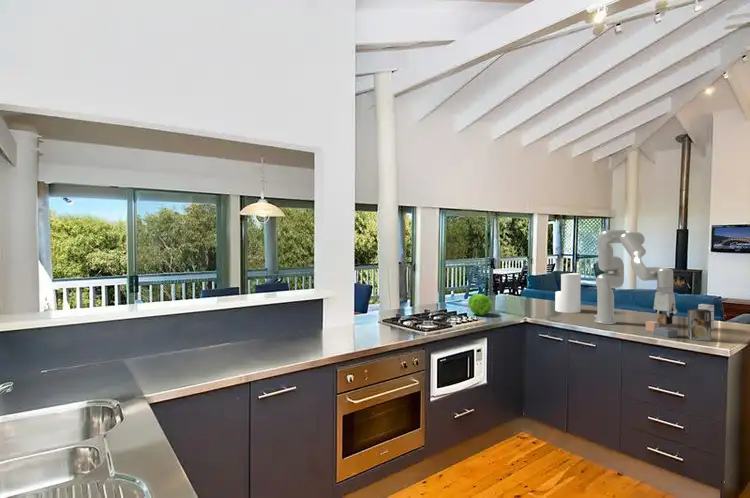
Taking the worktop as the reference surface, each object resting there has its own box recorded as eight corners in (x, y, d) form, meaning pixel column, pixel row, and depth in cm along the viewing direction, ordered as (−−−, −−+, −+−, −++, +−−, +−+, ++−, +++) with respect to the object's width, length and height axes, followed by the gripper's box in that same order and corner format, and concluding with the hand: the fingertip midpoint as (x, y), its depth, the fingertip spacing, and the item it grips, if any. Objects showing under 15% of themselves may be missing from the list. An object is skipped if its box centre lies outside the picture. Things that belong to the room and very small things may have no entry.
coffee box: (707, 338, 240) (707, 309, 240) (711, 341, 234) (711, 311, 234) (687, 337, 243) (687, 308, 243) (690, 339, 237) (691, 310, 237)
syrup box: (714, 329, 264) (714, 304, 264) (706, 329, 263) (707, 305, 262) (704, 327, 270) (705, 303, 269) (697, 327, 268) (697, 303, 268)
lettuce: (492, 316, 323) (494, 295, 324) (488, 318, 305) (491, 296, 305) (469, 312, 329) (471, 292, 330) (464, 314, 311) (467, 292, 311)
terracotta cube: (645, 330, 263) (645, 321, 263) (650, 329, 265) (650, 320, 265) (654, 331, 258) (654, 323, 258) (659, 330, 261) (659, 322, 261)
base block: (653, 335, 250) (653, 328, 250) (663, 334, 253) (663, 327, 253) (667, 338, 243) (667, 331, 242) (677, 337, 245) (677, 329, 245)
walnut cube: (657, 322, 249) (657, 314, 249) (664, 322, 251) (664, 313, 251) (665, 324, 245) (665, 315, 245) (672, 324, 246) (672, 315, 246)
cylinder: (585, 311, 329) (585, 273, 328) (571, 313, 319) (572, 274, 318) (563, 308, 343) (564, 272, 342) (550, 310, 333) (550, 273, 333)
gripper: (646, 289, 255) (646, 320, 255) (673, 292, 238) (673, 326, 239) (657, 288, 256) (657, 319, 257) (684, 291, 240) (684, 325, 240)
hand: (664, 322), depth 248 cm, fingers closed on walnut cube, 5 cm apart
